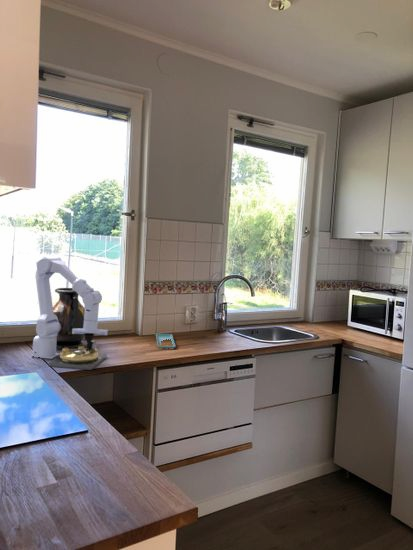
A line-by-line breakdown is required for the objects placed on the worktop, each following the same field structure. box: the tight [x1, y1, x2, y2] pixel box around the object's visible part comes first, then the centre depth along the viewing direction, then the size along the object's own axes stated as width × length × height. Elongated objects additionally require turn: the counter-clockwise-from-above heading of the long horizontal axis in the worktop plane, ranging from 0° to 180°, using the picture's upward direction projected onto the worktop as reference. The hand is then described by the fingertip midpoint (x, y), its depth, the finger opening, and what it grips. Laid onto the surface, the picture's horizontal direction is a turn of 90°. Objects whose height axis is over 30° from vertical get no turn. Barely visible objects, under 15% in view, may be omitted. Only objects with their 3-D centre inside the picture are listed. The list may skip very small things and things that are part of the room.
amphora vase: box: [47, 287, 86, 351], centre depth 215 cm, size 22×22×28 cm
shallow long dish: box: [155, 333, 177, 349], centre depth 235 cm, size 26×9×2 cm, turn 9°
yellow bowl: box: [59, 340, 99, 363], centre depth 192 cm, size 16×16×7 cm
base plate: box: [48, 352, 108, 371], centre depth 192 cm, size 18×20×2 cm
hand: (88, 350), depth 191 cm, fingers closed, pressing on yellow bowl
